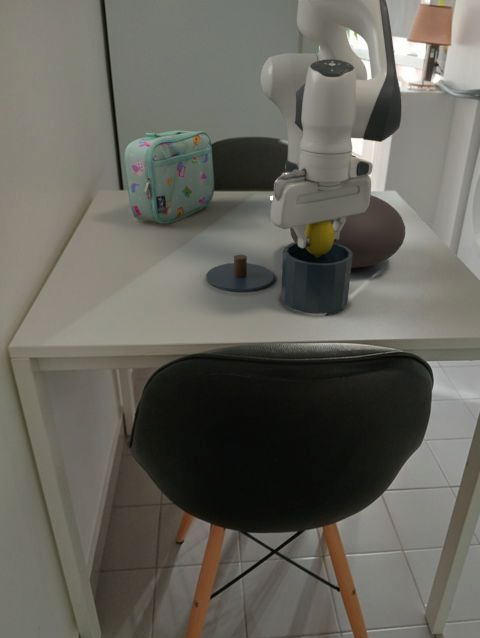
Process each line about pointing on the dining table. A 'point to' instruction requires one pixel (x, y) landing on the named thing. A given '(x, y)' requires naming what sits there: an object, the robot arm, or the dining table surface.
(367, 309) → the dining table surface
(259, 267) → the lid
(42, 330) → the dining table surface
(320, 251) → the lemon
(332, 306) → the tin
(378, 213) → the flattened ellipsoid
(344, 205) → the robot arm
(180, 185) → the lunch box
